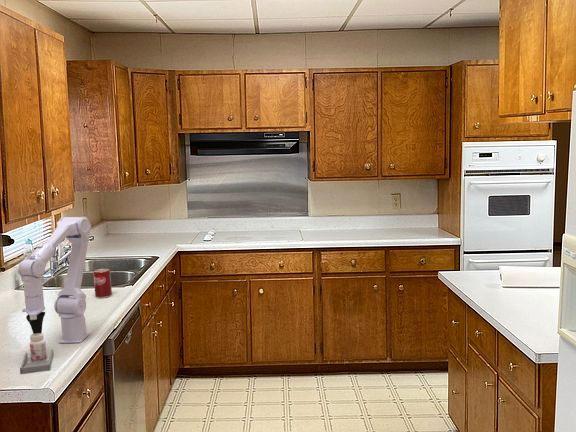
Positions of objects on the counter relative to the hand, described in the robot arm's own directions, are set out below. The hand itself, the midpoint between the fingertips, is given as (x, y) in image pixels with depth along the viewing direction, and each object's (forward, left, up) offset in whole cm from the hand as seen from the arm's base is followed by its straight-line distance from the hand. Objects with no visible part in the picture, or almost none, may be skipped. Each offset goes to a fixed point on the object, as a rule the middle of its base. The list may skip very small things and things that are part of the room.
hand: (37, 335), depth 218 cm
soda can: (-77, -2, -8) cm, 78 cm away
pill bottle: (+3, +1, -8) cm, 8 cm away
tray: (+7, +2, -7) cm, 11 cm away
